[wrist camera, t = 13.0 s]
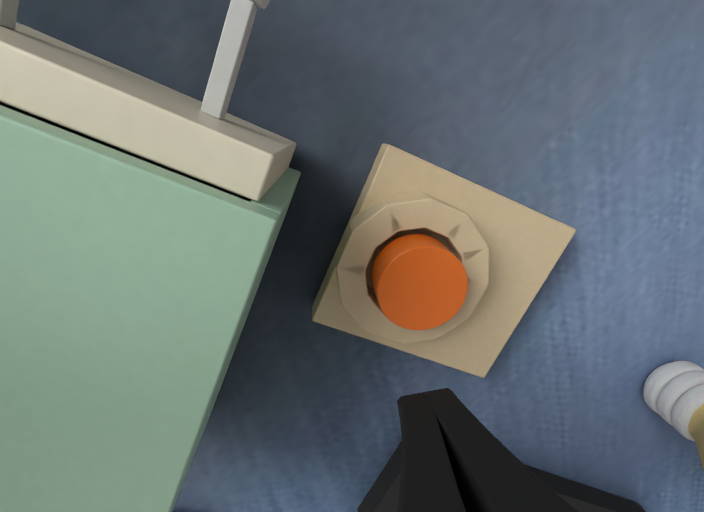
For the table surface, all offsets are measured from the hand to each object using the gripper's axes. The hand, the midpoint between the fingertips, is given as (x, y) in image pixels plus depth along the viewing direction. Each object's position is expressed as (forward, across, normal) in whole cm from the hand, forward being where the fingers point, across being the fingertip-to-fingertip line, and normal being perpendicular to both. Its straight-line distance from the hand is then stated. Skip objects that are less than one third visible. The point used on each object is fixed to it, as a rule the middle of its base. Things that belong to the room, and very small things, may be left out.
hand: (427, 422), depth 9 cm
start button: (+7, -1, -1) cm, 7 cm away
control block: (+10, -3, 0) cm, 11 cm away
